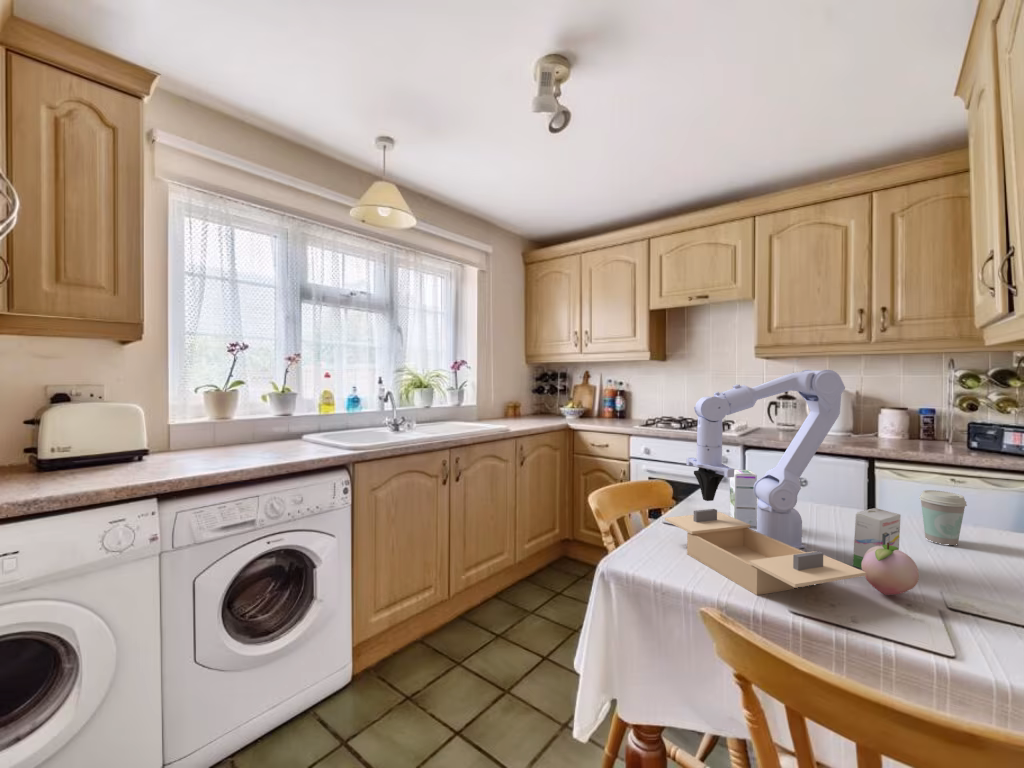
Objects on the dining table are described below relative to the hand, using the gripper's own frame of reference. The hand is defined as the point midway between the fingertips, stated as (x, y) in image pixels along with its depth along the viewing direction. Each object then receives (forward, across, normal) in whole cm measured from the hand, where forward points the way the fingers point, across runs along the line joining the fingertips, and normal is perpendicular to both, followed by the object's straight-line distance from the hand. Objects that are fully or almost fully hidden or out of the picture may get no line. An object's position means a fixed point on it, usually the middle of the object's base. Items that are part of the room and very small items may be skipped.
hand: (708, 500), depth 112 cm
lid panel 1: (+5, +2, -2) cm, 6 cm away
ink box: (+10, +22, +25) cm, 35 cm away
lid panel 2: (+5, +28, -2) cm, 29 cm away
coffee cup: (+10, +16, +56) cm, 59 cm away
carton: (+10, +15, -2) cm, 18 cm away
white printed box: (+10, -9, +19) cm, 24 cm away
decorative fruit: (+10, +32, +14) cm, 37 cm away
